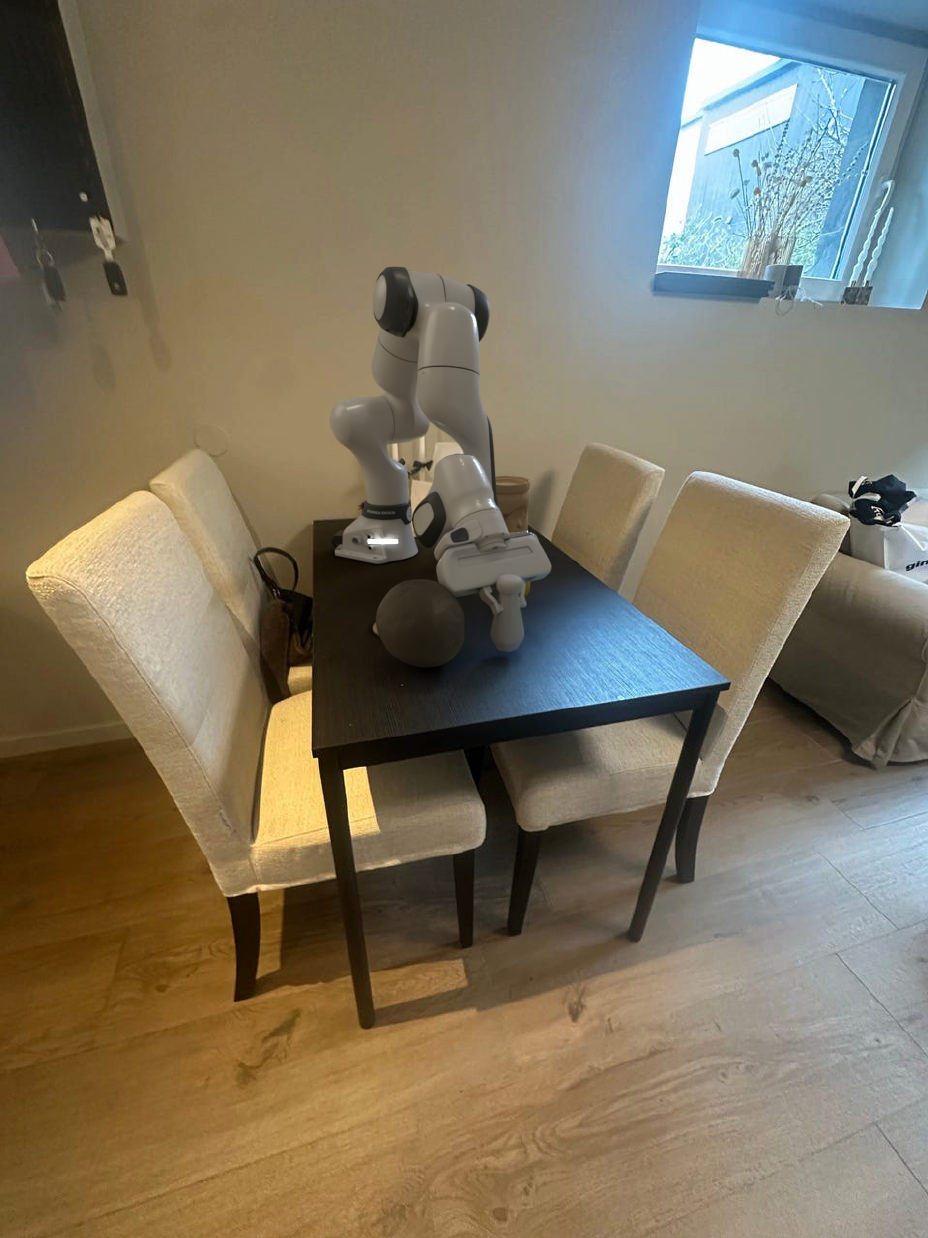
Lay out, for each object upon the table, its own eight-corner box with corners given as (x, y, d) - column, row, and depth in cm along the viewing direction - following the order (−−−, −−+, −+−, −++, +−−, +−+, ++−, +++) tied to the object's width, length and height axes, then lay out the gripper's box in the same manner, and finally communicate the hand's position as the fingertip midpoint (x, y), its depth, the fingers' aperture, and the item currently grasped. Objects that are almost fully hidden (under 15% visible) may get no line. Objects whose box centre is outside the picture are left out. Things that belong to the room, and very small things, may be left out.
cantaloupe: (422, 636, 93) (418, 561, 87) (482, 661, 85) (483, 580, 79) (364, 667, 84) (355, 586, 77) (425, 699, 76) (421, 611, 69)
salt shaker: (523, 638, 89) (528, 571, 83) (523, 655, 84) (528, 585, 78) (490, 636, 89) (493, 569, 83) (489, 653, 84) (491, 583, 78)
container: (478, 550, 137) (478, 483, 129) (486, 536, 148) (487, 474, 140) (523, 553, 134) (527, 486, 126) (529, 539, 145) (532, 476, 137)
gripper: (525, 537, 93) (552, 605, 90) (425, 554, 85) (450, 629, 82) (541, 520, 87) (570, 591, 84) (435, 537, 79) (462, 616, 76)
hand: (510, 610), depth 83 cm, fingers closed on salt shaker, 3 cm apart
